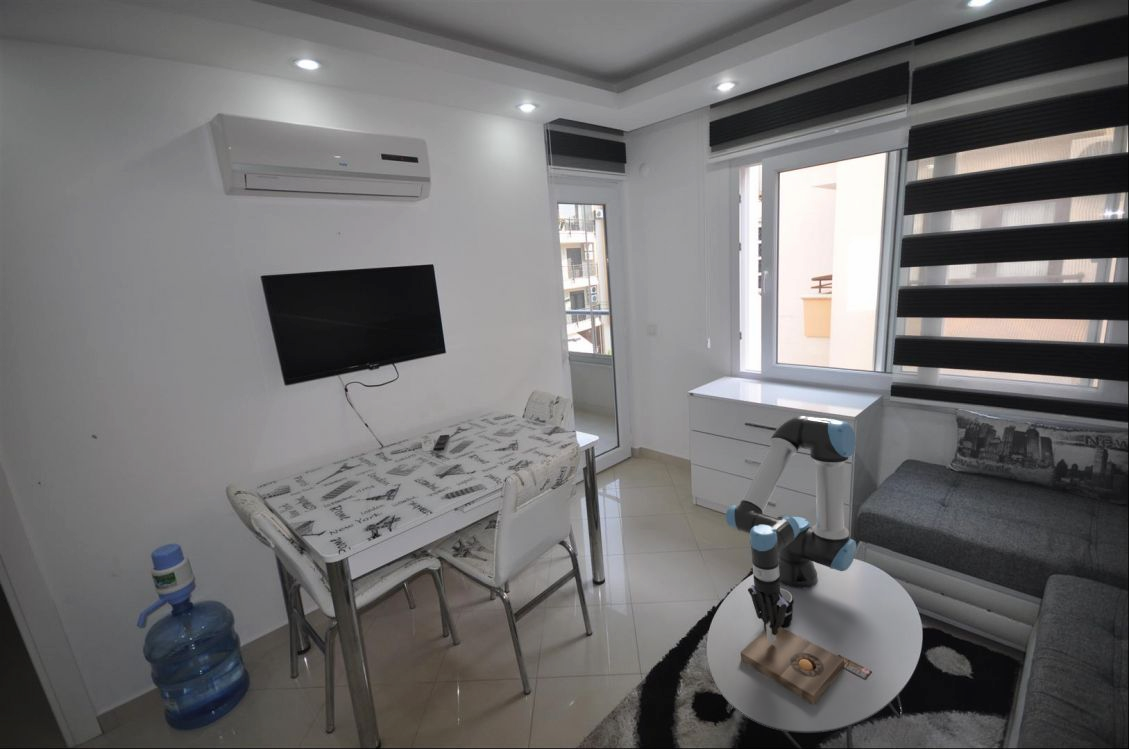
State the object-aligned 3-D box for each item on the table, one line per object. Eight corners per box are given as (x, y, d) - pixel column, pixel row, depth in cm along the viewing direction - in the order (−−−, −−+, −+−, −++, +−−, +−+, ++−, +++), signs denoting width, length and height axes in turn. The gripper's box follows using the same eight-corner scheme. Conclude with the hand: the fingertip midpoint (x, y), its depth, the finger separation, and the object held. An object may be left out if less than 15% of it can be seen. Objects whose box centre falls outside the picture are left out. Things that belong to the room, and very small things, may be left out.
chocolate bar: (875, 674, 145) (875, 672, 145) (868, 684, 142) (868, 681, 142) (836, 654, 154) (836, 652, 153) (829, 663, 151) (829, 661, 151)
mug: (783, 635, 163) (781, 608, 161) (760, 621, 171) (758, 595, 169) (805, 618, 169) (803, 592, 167) (782, 605, 177) (780, 580, 175)
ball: (801, 664, 151) (801, 653, 150) (815, 671, 148) (814, 660, 147) (796, 673, 149) (795, 662, 148) (809, 680, 146) (808, 668, 145)
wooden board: (741, 660, 156) (740, 652, 156) (772, 630, 166) (772, 622, 166) (813, 704, 138) (813, 695, 137) (844, 667, 148) (843, 659, 147)
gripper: (740, 572, 155) (746, 637, 159) (779, 590, 144) (785, 658, 149) (754, 561, 159) (759, 624, 164) (793, 577, 148) (798, 644, 153)
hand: (771, 640), depth 156 cm, fingers closed
